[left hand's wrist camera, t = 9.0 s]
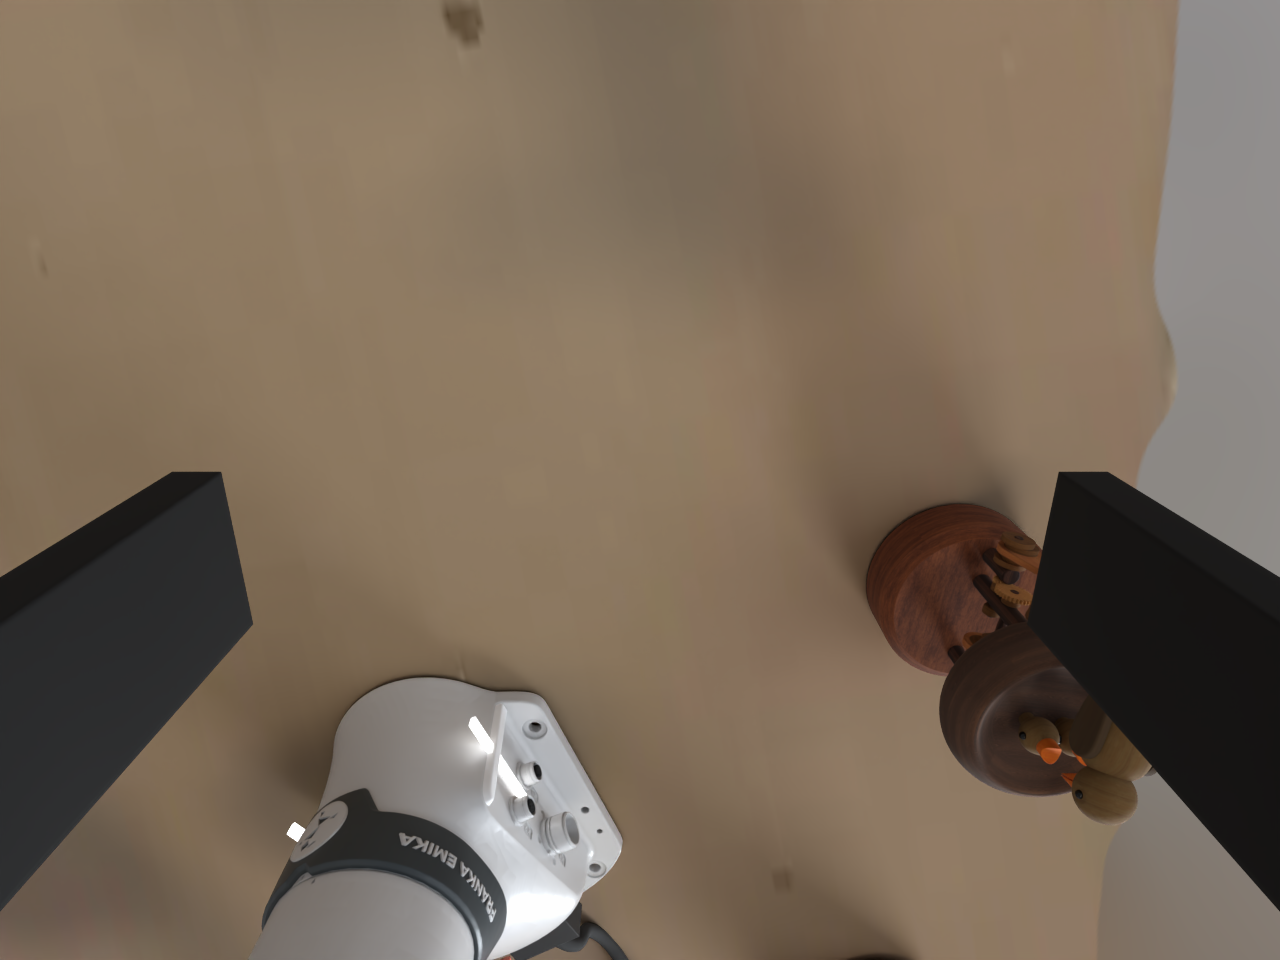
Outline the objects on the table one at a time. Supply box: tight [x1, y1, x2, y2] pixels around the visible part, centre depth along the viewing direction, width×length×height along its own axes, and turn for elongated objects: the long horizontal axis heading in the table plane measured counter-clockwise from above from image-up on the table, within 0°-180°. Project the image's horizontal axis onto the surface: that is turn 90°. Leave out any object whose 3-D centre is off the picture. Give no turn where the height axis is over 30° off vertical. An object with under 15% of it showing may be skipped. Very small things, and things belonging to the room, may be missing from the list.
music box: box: [867, 504, 1157, 825], centre depth 40 cm, size 15×11×20 cm
